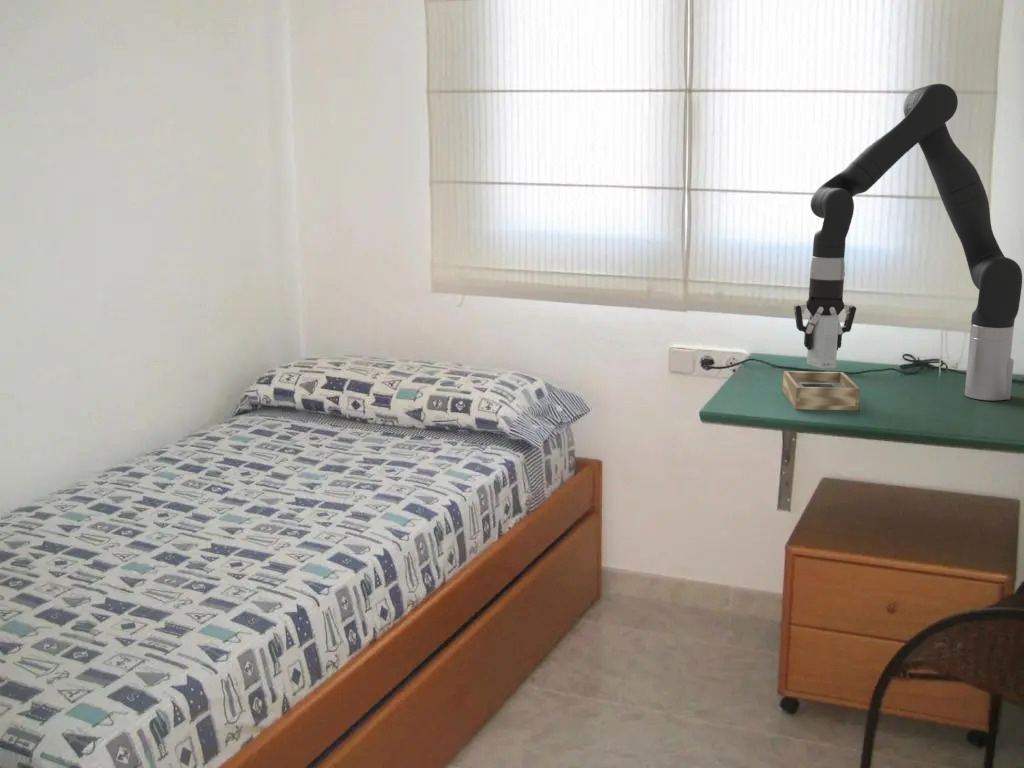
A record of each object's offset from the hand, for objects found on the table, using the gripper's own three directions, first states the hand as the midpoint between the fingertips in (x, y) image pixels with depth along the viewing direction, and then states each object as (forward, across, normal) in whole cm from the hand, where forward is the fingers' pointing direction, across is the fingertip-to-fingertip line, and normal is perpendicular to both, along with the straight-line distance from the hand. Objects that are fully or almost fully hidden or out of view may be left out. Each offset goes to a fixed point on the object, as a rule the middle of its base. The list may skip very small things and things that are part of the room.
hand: (822, 349), depth 258 cm
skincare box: (+4, 0, 0) cm, 4 cm away
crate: (+12, 0, 0) cm, 12 cm away
